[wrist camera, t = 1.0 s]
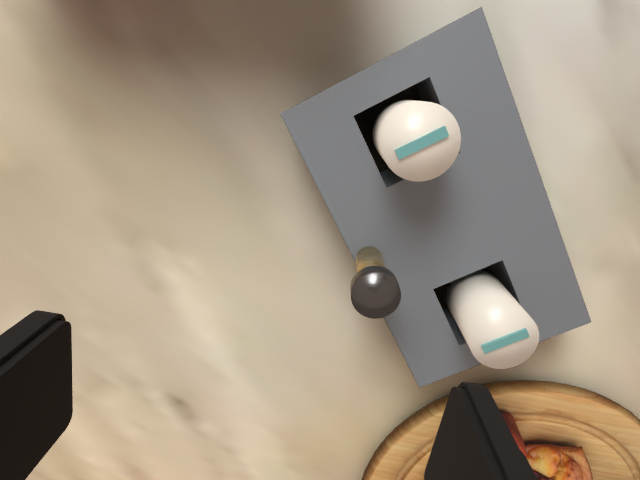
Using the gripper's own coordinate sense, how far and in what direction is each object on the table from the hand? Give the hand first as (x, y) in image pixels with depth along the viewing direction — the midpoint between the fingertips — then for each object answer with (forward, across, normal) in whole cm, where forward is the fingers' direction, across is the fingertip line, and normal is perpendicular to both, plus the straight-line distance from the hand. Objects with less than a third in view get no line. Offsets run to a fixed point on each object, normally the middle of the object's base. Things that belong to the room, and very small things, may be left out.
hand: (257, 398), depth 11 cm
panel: (+27, -10, 0) cm, 29 cm away
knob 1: (+23, -6, -5) cm, 24 cm away
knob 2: (+23, -14, +6) cm, 27 cm away
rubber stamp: (+21, -5, +4) cm, 22 cm away
